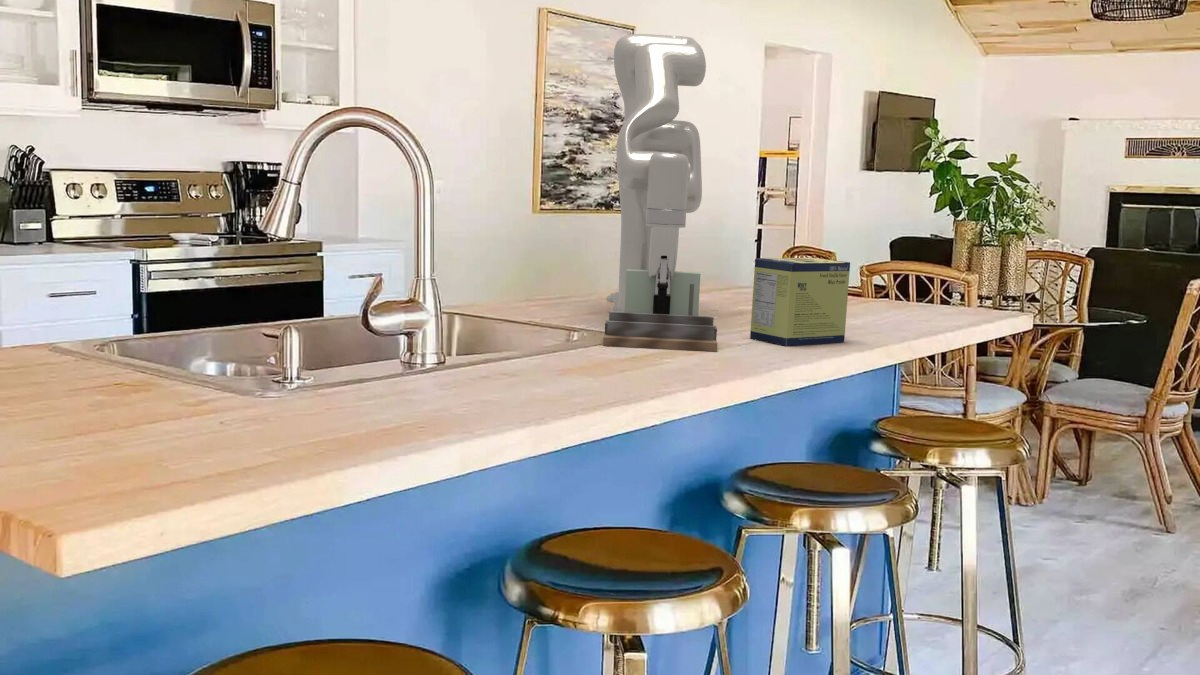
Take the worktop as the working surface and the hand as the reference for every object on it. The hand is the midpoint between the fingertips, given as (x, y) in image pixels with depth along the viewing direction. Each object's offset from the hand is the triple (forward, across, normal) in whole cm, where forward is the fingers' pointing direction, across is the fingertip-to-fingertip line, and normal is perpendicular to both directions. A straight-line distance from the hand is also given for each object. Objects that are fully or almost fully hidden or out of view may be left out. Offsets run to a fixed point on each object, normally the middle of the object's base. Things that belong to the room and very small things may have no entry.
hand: (661, 314), depth 225 cm
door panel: (+4, 0, 0) cm, 4 cm away
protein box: (+4, 0, +26) cm, 27 cm away
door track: (+4, +13, 0) cm, 14 cm away
